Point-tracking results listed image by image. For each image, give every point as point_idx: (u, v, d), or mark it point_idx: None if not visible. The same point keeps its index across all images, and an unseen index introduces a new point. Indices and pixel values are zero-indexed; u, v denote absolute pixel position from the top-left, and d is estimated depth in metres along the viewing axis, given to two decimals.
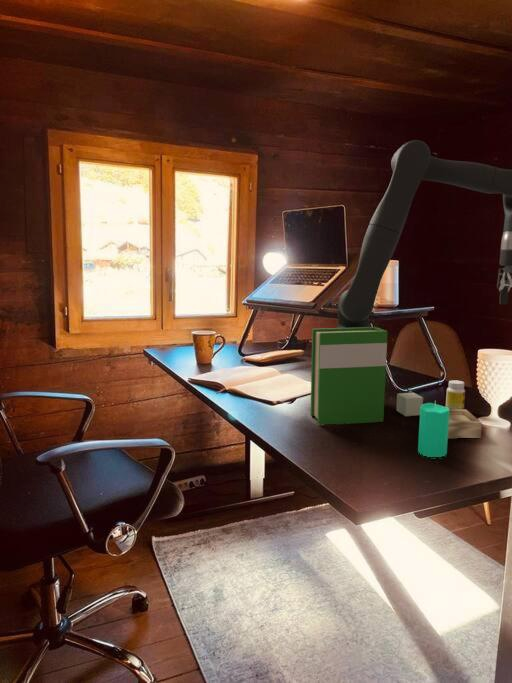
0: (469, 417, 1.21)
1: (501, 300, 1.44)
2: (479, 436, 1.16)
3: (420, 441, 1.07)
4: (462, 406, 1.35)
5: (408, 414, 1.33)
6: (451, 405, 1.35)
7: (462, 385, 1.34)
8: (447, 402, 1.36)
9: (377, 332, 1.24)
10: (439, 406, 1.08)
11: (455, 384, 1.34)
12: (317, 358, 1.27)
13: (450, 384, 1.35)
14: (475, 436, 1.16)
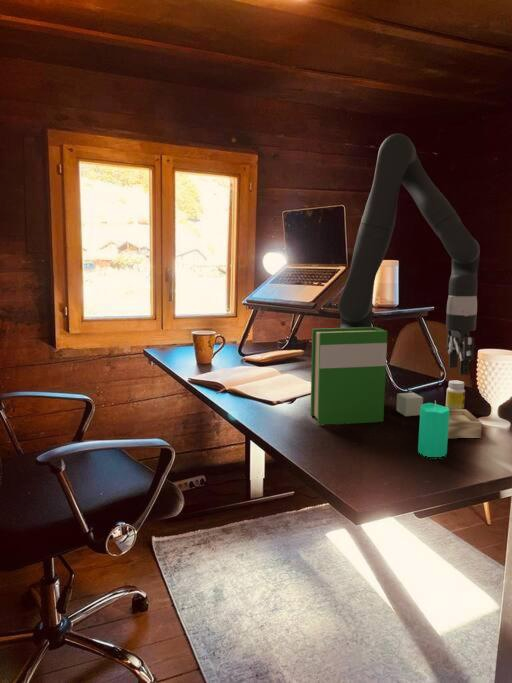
0: (469, 417, 1.21)
1: (450, 363, 1.39)
2: (479, 436, 1.16)
3: (420, 441, 1.07)
4: (462, 406, 1.35)
5: (408, 414, 1.33)
6: (451, 405, 1.35)
7: (462, 385, 1.34)
8: (447, 402, 1.36)
9: (377, 332, 1.24)
10: (439, 406, 1.08)
11: (455, 384, 1.34)
12: (317, 358, 1.27)
13: (450, 384, 1.35)
14: (475, 436, 1.16)
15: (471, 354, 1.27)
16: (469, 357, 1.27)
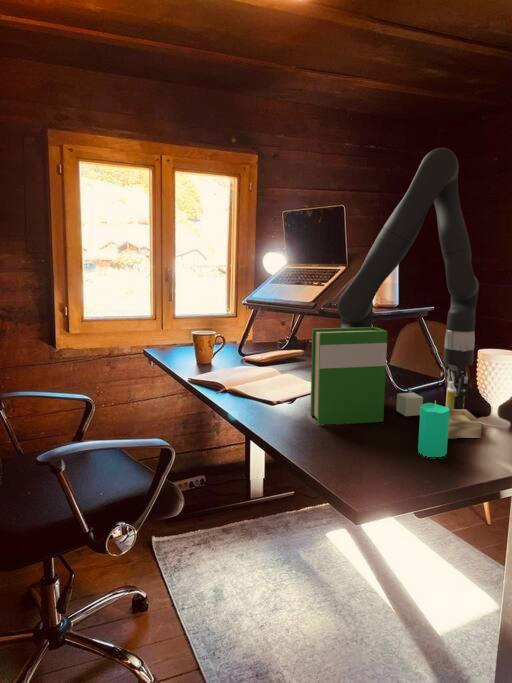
0: (469, 417, 1.21)
1: None
2: (479, 436, 1.16)
3: (420, 441, 1.07)
4: None
5: (408, 414, 1.33)
6: (451, 405, 1.35)
7: None
8: (447, 402, 1.36)
9: (377, 332, 1.24)
10: (439, 406, 1.08)
11: None
12: (317, 358, 1.27)
13: (450, 384, 1.35)
14: (475, 436, 1.16)
15: (466, 391, 1.31)
16: (463, 393, 1.30)
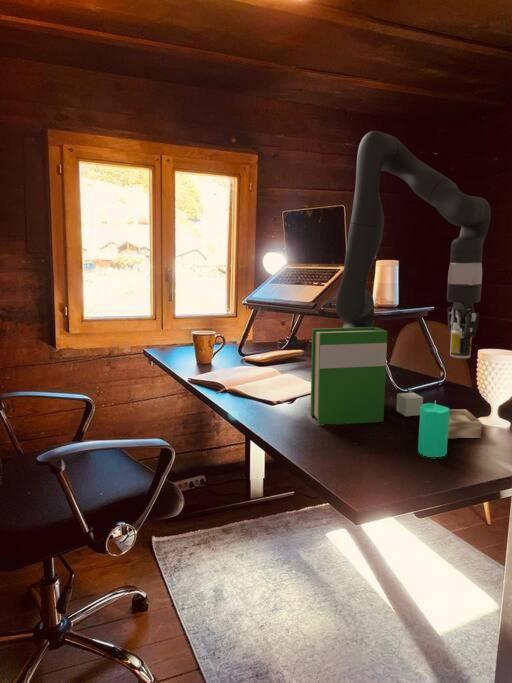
0: (469, 417, 1.21)
1: None
2: (479, 436, 1.16)
3: (420, 441, 1.07)
4: None
5: (408, 414, 1.33)
6: (457, 349, 1.19)
7: None
8: (452, 347, 1.20)
9: (377, 332, 1.24)
10: (439, 406, 1.08)
11: None
12: (317, 358, 1.27)
13: (456, 326, 1.19)
14: (475, 436, 1.16)
15: (473, 331, 1.15)
16: (470, 333, 1.15)
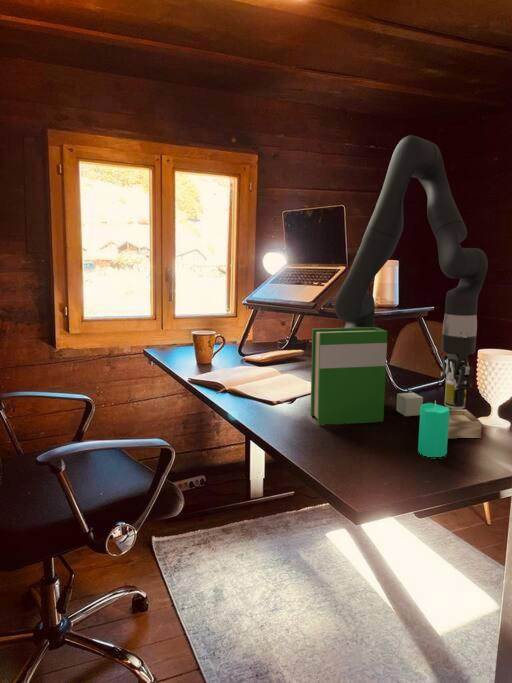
0: (469, 417, 1.21)
1: None
2: (479, 436, 1.16)
3: (420, 441, 1.07)
4: None
5: (408, 414, 1.33)
6: (451, 400, 1.18)
7: None
8: (446, 397, 1.20)
9: (377, 332, 1.24)
10: (439, 406, 1.08)
11: None
12: (317, 358, 1.27)
13: (450, 376, 1.18)
14: (475, 436, 1.16)
15: (467, 383, 1.14)
16: (464, 386, 1.14)
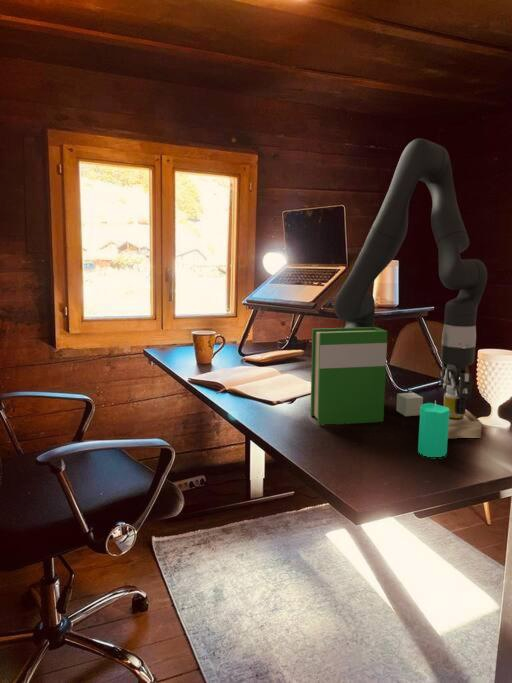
0: (469, 417, 1.21)
1: None
2: (479, 436, 1.16)
3: (420, 441, 1.07)
4: (462, 414, 1.19)
5: (408, 414, 1.33)
6: None
7: None
8: None
9: (377, 332, 1.24)
10: (439, 406, 1.08)
11: None
12: (317, 358, 1.27)
13: (448, 389, 1.19)
14: (475, 436, 1.16)
15: (468, 392, 1.13)
16: (466, 395, 1.13)
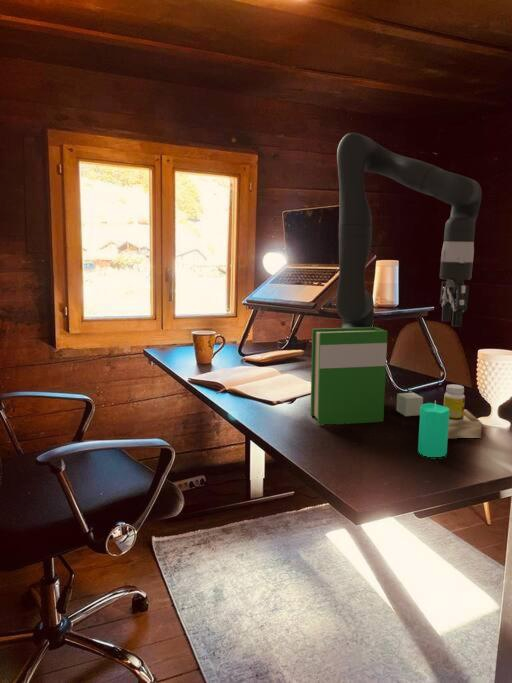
0: (469, 417, 1.21)
1: (443, 317, 1.30)
2: (479, 436, 1.16)
3: (420, 441, 1.07)
4: (461, 414, 1.19)
5: (408, 414, 1.33)
6: None
7: (461, 390, 1.18)
8: None
9: (377, 332, 1.24)
10: (439, 406, 1.08)
11: (454, 389, 1.18)
12: (317, 358, 1.27)
13: (448, 389, 1.19)
14: (475, 436, 1.16)
15: (464, 304, 1.19)
16: (462, 307, 1.19)
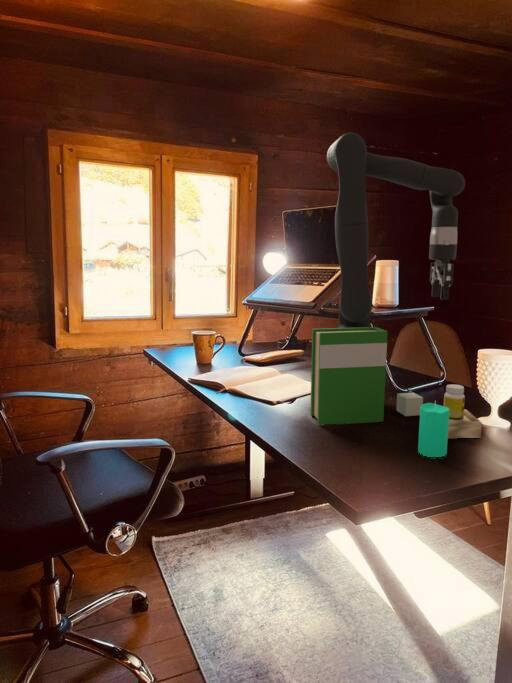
0: (469, 417, 1.21)
1: (433, 293, 1.51)
2: (479, 436, 1.16)
3: (420, 441, 1.07)
4: (461, 414, 1.19)
5: (408, 414, 1.33)
6: None
7: (461, 390, 1.18)
8: None
9: (377, 332, 1.24)
10: (439, 406, 1.08)
11: (453, 389, 1.18)
12: (317, 358, 1.27)
13: (448, 389, 1.19)
14: (475, 436, 1.16)
15: (451, 279, 1.40)
16: (449, 282, 1.40)
